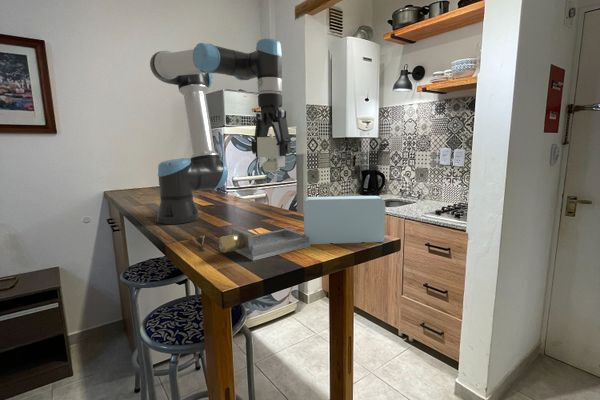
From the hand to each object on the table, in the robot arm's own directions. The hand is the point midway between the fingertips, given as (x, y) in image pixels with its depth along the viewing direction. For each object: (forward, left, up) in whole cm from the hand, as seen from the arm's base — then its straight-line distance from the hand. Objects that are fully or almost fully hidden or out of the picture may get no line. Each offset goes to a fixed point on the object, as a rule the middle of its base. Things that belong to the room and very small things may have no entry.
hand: (271, 166), depth 105 cm
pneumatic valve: (0, 0, -2) cm, 2 cm away
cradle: (+15, -11, -21) cm, 28 cm away
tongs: (0, -25, -22) cm, 33 cm away
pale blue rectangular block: (+24, +9, -22) cm, 33 cm away
